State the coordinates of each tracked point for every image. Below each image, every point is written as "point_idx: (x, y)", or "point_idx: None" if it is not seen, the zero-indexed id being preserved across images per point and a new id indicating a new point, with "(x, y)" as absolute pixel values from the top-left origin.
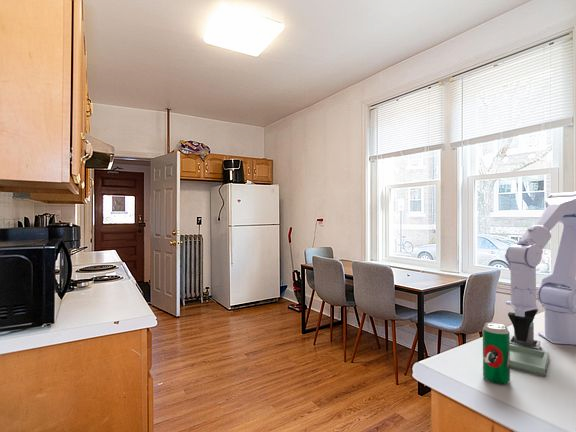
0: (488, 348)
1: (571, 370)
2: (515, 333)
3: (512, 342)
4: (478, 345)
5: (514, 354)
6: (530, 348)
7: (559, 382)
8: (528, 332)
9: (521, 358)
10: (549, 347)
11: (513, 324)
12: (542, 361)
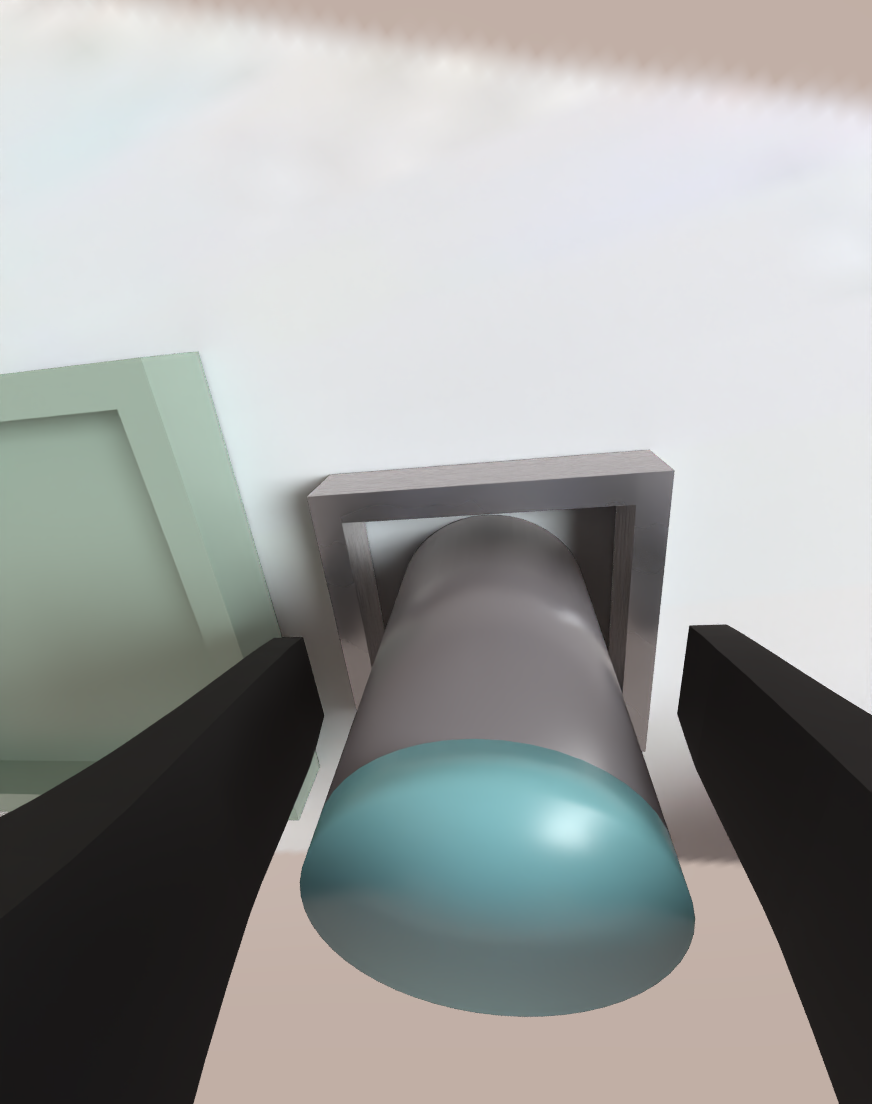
0: None
1: None
2: (208, 688)
3: (337, 551)
4: (64, 158)
5: (109, 595)
6: None
7: (3, 811)
8: (271, 847)
9: (77, 651)
10: (658, 756)
11: (18, 822)
12: None
